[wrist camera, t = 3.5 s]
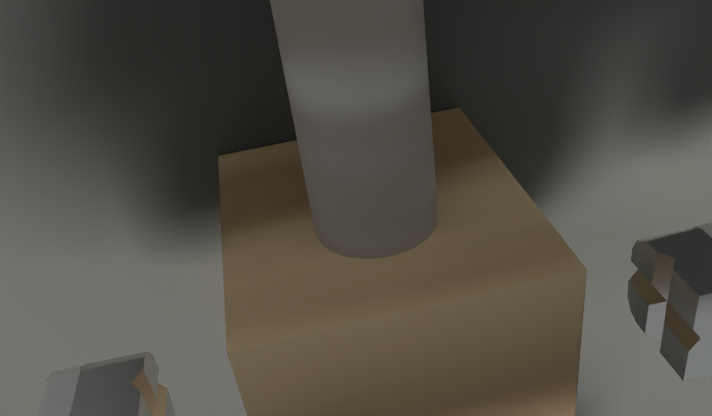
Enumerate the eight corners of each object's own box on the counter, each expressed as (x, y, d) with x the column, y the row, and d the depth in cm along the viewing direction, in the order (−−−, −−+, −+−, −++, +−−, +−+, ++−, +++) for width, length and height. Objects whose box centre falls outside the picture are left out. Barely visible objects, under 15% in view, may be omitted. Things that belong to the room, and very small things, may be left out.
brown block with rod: (-23, -469, 8) (-455, -947, 3) (491, -528, 8) (954, -1015, 3) (295, 543, 19) (328, 818, 14) (501, 490, 19) (605, 737, 14)
